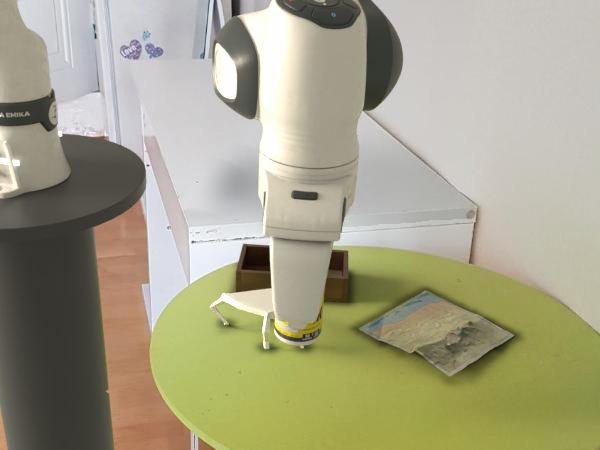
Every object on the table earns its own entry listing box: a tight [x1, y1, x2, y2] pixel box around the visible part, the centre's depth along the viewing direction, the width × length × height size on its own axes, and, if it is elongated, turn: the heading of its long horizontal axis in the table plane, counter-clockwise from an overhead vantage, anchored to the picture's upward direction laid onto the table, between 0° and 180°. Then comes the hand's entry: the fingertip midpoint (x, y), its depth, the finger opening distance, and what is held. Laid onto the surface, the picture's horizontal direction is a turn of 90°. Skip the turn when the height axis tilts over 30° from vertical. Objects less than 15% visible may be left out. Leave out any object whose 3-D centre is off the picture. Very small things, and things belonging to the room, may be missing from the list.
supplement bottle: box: [273, 289, 325, 347], centre depth 74 cm, size 5×5×8 cm
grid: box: [235, 243, 349, 303], centre depth 98 cm, size 14×7×4 cm, turn 87°
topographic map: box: [358, 290, 515, 378], centre depth 90 cm, size 14×14×2 cm
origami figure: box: [209, 288, 305, 350], centre depth 88 cm, size 12×8×5 cm
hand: (299, 307), depth 74 cm, fingers closed on supplement bottle, 5 cm apart
